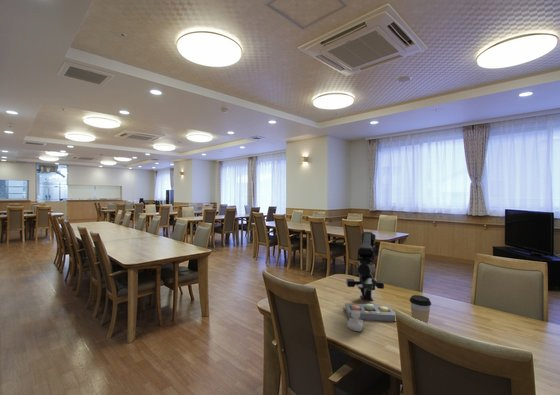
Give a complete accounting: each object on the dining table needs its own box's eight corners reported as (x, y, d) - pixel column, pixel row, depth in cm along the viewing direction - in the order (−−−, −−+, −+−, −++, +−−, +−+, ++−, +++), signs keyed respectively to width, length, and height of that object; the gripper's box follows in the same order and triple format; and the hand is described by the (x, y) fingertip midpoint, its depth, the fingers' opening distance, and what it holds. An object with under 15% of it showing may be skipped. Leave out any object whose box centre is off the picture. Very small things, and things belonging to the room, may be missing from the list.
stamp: (365, 328, 135) (366, 310, 135) (364, 334, 128) (365, 316, 128) (346, 324, 138) (347, 307, 138) (344, 330, 132) (345, 312, 132)
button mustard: (378, 312, 152) (378, 306, 152) (386, 312, 152) (387, 306, 152) (380, 316, 148) (381, 309, 148) (389, 316, 148) (389, 310, 148)
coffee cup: (433, 335, 130) (434, 302, 129) (411, 332, 131) (412, 300, 131) (426, 325, 139) (427, 295, 139) (406, 323, 141) (407, 293, 141)
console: (344, 308, 158) (345, 302, 158) (388, 310, 156) (388, 304, 156) (348, 318, 145) (349, 312, 145) (396, 321, 143) (397, 314, 143)
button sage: (364, 309, 153) (364, 303, 153) (372, 310, 152) (373, 303, 152) (366, 313, 148) (366, 306, 148) (374, 313, 148) (375, 307, 148)
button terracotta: (350, 311, 153) (350, 304, 153) (358, 311, 153) (358, 305, 153) (351, 314, 149) (352, 307, 149) (360, 314, 149) (360, 308, 149)
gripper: (349, 273, 143) (348, 304, 144) (387, 275, 142) (386, 306, 142) (346, 268, 154) (345, 296, 155) (381, 269, 153) (380, 298, 153)
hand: (364, 299), depth 151 cm, fingers closed
